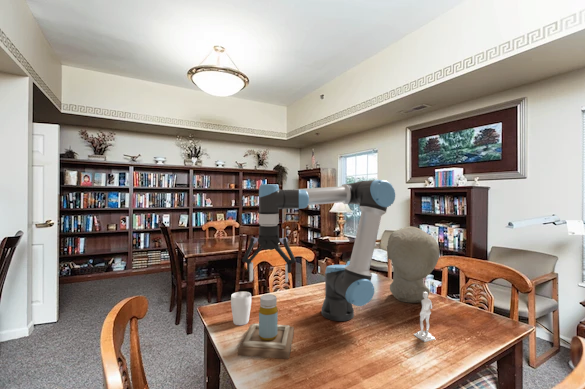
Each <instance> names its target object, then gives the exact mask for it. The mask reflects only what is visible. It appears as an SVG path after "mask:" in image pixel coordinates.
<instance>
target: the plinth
mask: <svg viewBox="0 0 585 389" xmlns="http://www.w3.org/2000/svg"><path fill="white" fill-rule="evenodd" d="M294 327H295V326H290V325H288V324H277V337H276V338H275V339H274V340H271V341H264V340H262V339H261V338H260V337H259V323H254V322H253V323H252V324H251V323H250V325H249V326H248V328H247V331H246V332H245V334H244V336H243V338H242V339H241V342H240V344H239V345H238V347H237V356H241V357H256V358H258V357H259V358H271V359H287V360H288V359H290V355H291V349H292V344H293V338H294V333H295V332H294V331H295V329H294Z"/></svg>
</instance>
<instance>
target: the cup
mask: <svg viewBox="0 0 585 389" xmlns="http://www.w3.org/2000/svg"><path fill="white" fill-rule="evenodd" d="M230 295H231V297H230V306H231V314H232V322H233V324H234V325H236V326H245V325H247V324H248V323H249V320H250V314H251V308H252V293H251V292H249V291H237V292H233V293H232V294H230Z"/></svg>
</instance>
